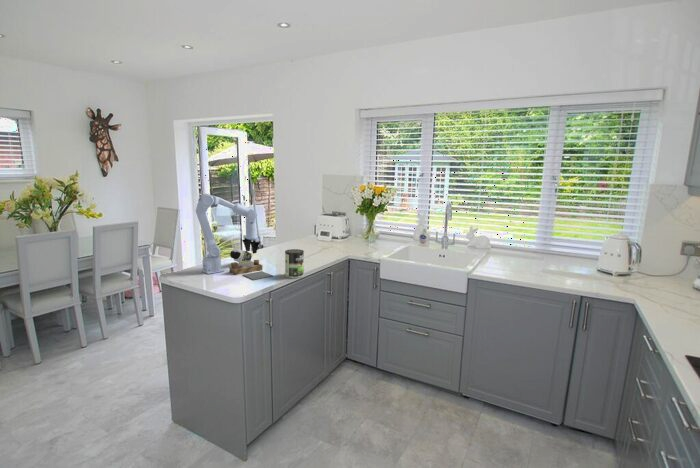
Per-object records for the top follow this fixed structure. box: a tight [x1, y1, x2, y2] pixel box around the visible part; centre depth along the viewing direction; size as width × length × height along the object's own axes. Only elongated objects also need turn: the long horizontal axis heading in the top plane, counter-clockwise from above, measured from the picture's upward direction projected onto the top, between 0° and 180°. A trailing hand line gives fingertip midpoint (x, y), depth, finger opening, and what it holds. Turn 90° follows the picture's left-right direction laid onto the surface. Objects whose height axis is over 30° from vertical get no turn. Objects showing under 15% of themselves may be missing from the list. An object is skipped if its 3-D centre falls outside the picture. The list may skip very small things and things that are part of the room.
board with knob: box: [229, 259, 263, 276], centre depth 213 cm, size 17×7×6 cm, turn 134°
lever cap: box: [238, 260, 254, 268], centre depth 213 cm, size 7×4×3 cm, turn 134°
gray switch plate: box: [242, 270, 274, 281], centre depth 205 cm, size 12×12×1 cm
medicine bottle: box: [229, 248, 253, 263], centre depth 226 cm, size 7×7×12 cm
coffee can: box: [284, 248, 305, 279], centre depth 206 cm, size 10×10×14 cm
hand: (251, 252), depth 220 cm, fingers open, 7 cm apart
